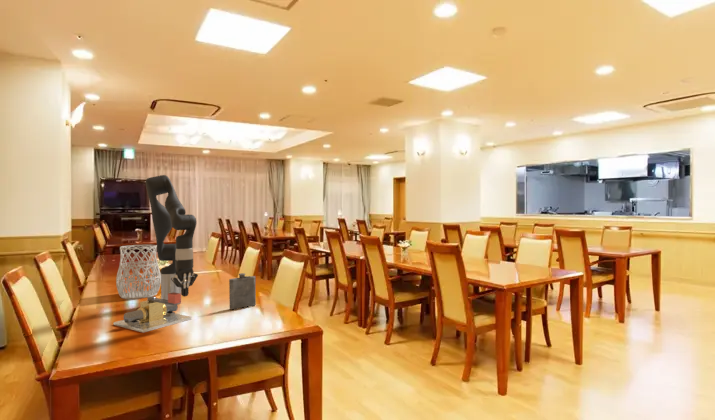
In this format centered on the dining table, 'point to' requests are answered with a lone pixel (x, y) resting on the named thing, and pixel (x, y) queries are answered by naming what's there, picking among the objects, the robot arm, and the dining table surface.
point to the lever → (172, 299)
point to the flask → (242, 291)
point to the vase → (140, 292)
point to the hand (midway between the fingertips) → (184, 296)
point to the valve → (151, 317)
